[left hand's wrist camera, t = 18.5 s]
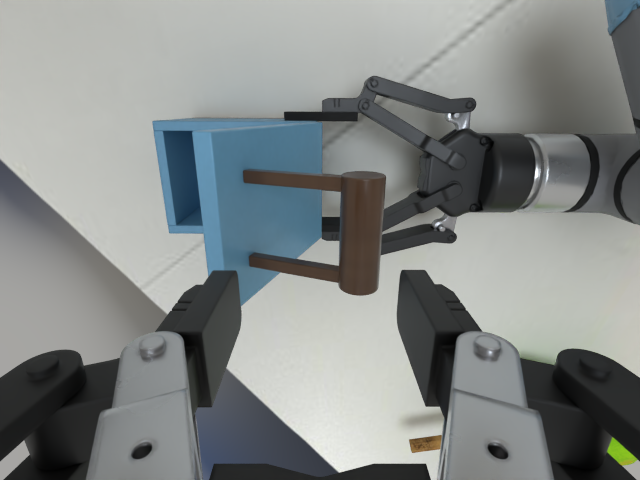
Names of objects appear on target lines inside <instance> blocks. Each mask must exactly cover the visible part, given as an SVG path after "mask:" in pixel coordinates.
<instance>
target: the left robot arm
mask: <svg viewBox="0 0 640 480" xmlns="http://www.w3.org/2000/svg"><path fill="white" fill-rule="evenodd" d="M397 325H398V330H399V333H400V336H401V338H402V341H403V344H404V347H405V350H406V352H407V355H408V358H409V361H410V364H411V366H412V369H413V372H414V375H415V378H416V381H417V383H418V386H419V389H420V392H421V395H422V397H423V400H424V403H425V406H426V407H440V408H441V411H442V413H443V416H444V422H443V430H442V439H441V448H440V457H439V466H438V475H437V480H636V479H635V478H634V477H633V476H632V475H631V474H630V473H629V472H628V471H627V470H626V469H625V468H624V467H622V466H621V465H620V464H619V463H618V462H617V461H616V460H615V459H614V458H613V457H612V456H611V455H610V454H609V453H608V452H607V450H608V448H609V445H610V443H611V440H612V437H613V438H614V439H615V440H617V441H618V442H619V443H620V444H621V445H622V446H623V447H624V448H625V449H627V450H628V451H629V452H630V453H631V454H632V455H633V456H634V457H636V458H637V459H638V460H639V461H640V378H639V377H638V376H636V375H635V374H633V373H632V372H630V371H629V370H628V369H626V368H625V367H623V366H622V365H620V364H619V363H617V362H615V361H614V360H612V359H610V358H608V357H606V356H603V355H601V354H598V353H595V352H592V351H588V350H582V349H566V350H563V351H561V352H560V353H559V354H558V356H557V359H556V363H555V365H550V364H545V363H540V362H535V361H530V360H526V359H521V358H520V356H519V352H518V351H517V349H516V348H515V347H514V346H513V345H512V344H511V343H510V342H508V341H507V340H505V339H503V338H501V337H499V336H497V335H494V334H491V333H487V332H482V330H481V329H480V328H479V326H478V325H477V323H476V322H475V321H474V319H473V318H472V317H471V315H470V314H469V313H468V311H466V308H465V307H464V306H463V304H462V303H460V300H459V299H458V297H457V296H456V295H455V293H454V292H453V291H451V290H450V289H448V288H446V287H445V286H443V285H442V284H434V283H433V281H432V280H431V278H430V277H429V275H428V274H427V272H426V271H425V270H402V271H401V274H400V282H399V294H398V305H397ZM240 326H241V303H240V292H239V280H238V274H237V271H236V270H213V271H212V272H211V274H210V275H209V277H208V278H207V280H206V281H205V283H204V284H203V285H195V286H194V287H192V288H191V289H189V290H187V291H186V292H184V294H183V295H182V296H181V298H180V299H179V300H178V303H176V304H175V306H174V307H173V308H172V311H170V312H169V314H168V315H167V317H166V318H165V319H164V321H163V322H162V323H161V325H160V326H159V327H158V329H157V330H156V331H155V332H153V333H149V334H146V335H143V336H141V337H139V338H137V339H135V340H133V341H132V342H130V343H129V344H128V345H127V346H126V347H125V348H124V349H123V351H122V353H121V356H120V358H118V359H114V360H110V361H105V362H100V363H96V364H91V365H85V366H84V365H83V362H82V358H81V356H80V354H79V353H78V352H76V351H73V350H56V351H51V352H47V353H44V354H41V355H38V356H35V357H33V358H31V359H29V360H27V361H25V362H23V363H22V364H20V365H18V366H17V367H15V368H14V369H12V370H11V371H10V372H8V373H7V374H5V375H4V376H2V377H1V378H0V461H1V460H2V459H3V458H4V457H6V456H7V455H8V454H9V453H10V452H11V451H12V450H13V449H14V448H16V447H17V446H18V445H19V444H20V443H21V442H22V441H23V440H25V443H26V446H27V448H28V451H29V453H30V455H29V456H28V457H27V458H26V459H25V460H24V461H23V462H22V463H21V464H20V465H19V466H18V467H17V468H15V469H14V470H13V471H12V472H11V473H10V474H9V475H8V476H7V477H6V478H5V479H4V480H203V475H202V466H201V457H200V448H199V439H198V430H197V422H196V416H195V412H196V410H197V407H212V405H213V403H214V400H215V397H216V394H217V391H218V389H219V386H220V383H221V380H222V378H223V375H224V372H225V369H226V367H227V364H228V361H229V358H230V356H231V353H232V350H233V347H234V345H235V342H236V339H237V336H238V334H239V331H240ZM209 480H431V479H430V476H429V472H428V469H427V466H426V464H371V465H367V466H364V467H360V468H356V469H352V470H348V471H344V472H341V473H337V474H333V475H329V476H325V477H315V476H311V475H307V474H303V473H299V472H296V471H291V470H288V469H284V468H280V467H276V466H272V465H269V464H214V466H213V469H212V472H211V476H210V479H209Z"/></svg>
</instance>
